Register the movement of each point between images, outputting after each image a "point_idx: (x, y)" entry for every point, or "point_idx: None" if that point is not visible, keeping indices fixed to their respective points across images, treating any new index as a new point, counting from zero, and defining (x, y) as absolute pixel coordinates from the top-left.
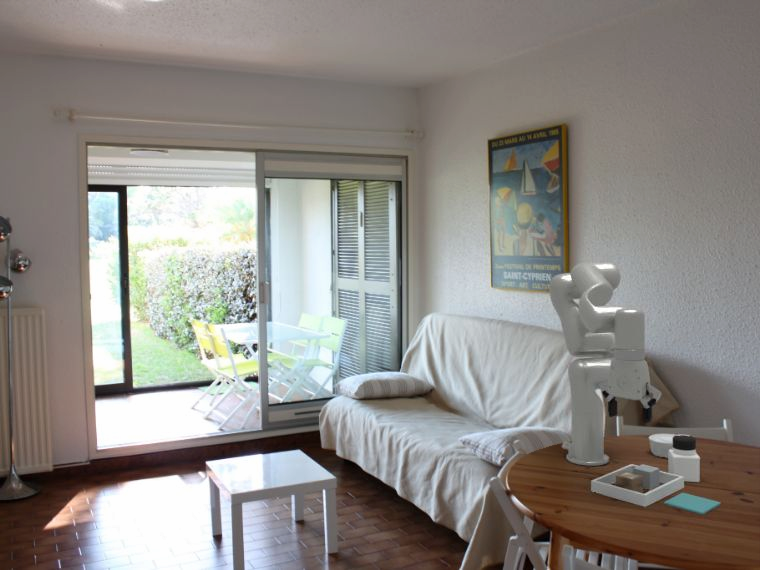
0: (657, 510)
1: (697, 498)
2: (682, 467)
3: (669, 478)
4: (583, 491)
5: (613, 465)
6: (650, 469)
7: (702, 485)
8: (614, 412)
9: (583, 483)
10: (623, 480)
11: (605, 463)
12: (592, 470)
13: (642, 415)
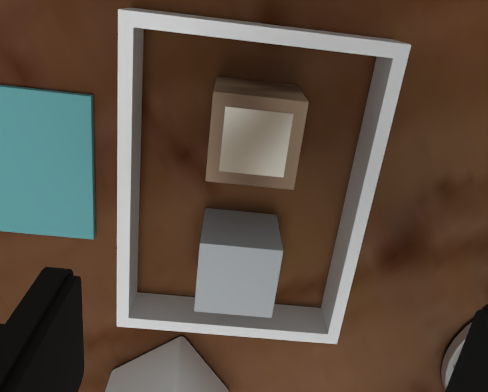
0: (74, 2)
1: (22, 213)
2: (148, 386)
3: (172, 310)
4: (424, 19)
5: (415, 361)
6: (216, 278)
7: (92, 351)
8: (477, 385)
9: (455, 117)
10: (263, 93)
11: (445, 356)
12: (468, 275)
13: (44, 327)
